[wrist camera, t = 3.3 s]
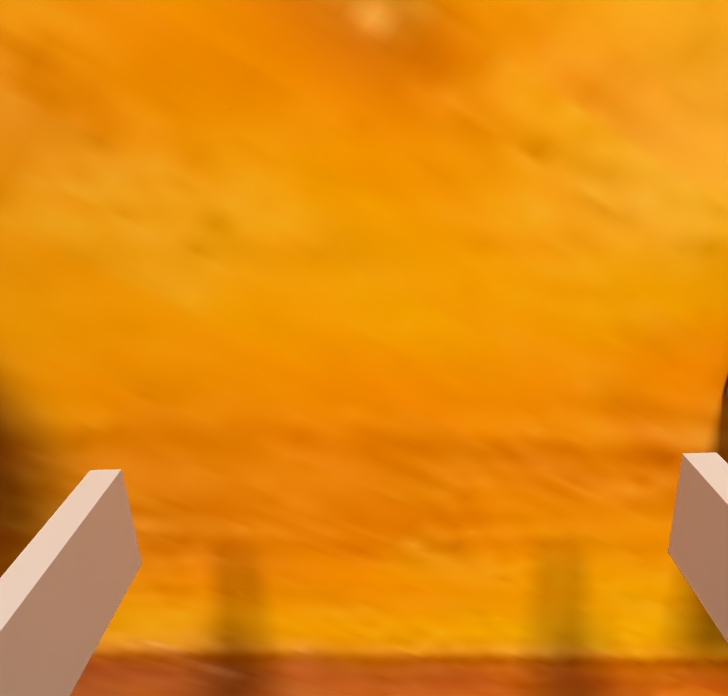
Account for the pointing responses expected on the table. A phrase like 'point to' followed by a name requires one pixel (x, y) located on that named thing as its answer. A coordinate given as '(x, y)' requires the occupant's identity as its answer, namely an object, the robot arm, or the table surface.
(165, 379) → the table surface
